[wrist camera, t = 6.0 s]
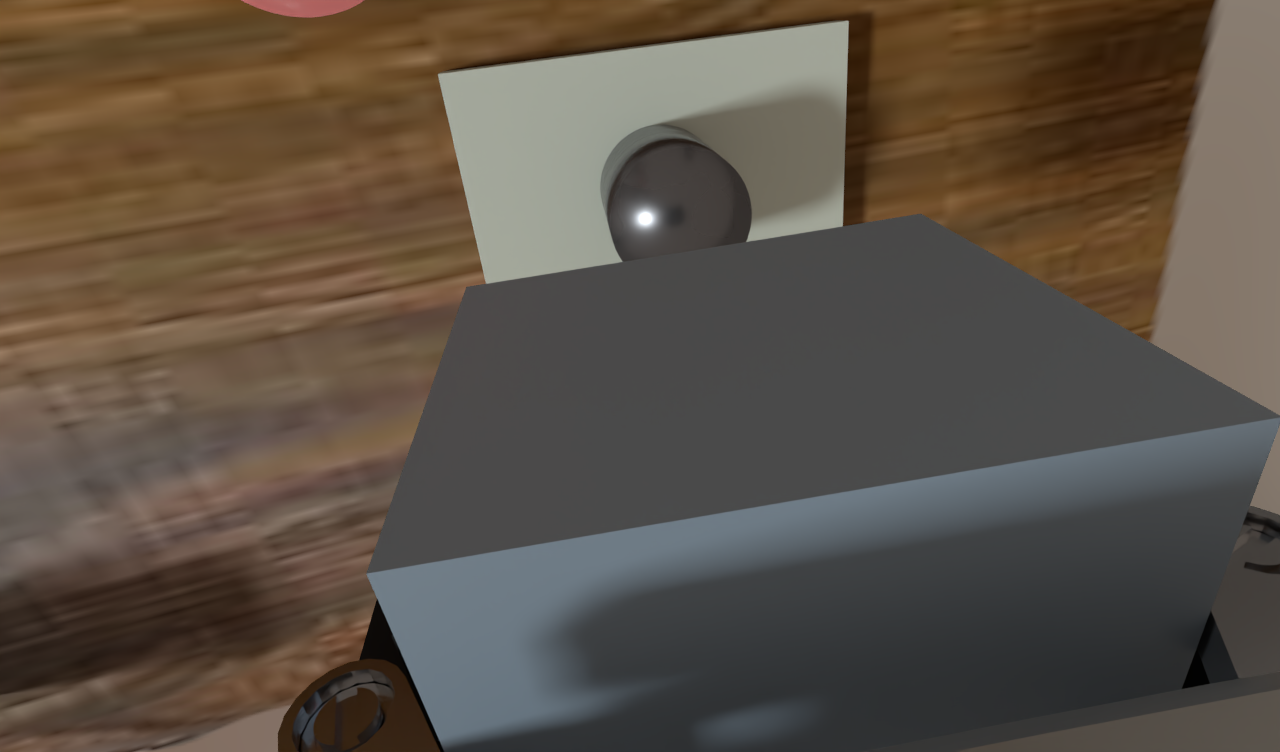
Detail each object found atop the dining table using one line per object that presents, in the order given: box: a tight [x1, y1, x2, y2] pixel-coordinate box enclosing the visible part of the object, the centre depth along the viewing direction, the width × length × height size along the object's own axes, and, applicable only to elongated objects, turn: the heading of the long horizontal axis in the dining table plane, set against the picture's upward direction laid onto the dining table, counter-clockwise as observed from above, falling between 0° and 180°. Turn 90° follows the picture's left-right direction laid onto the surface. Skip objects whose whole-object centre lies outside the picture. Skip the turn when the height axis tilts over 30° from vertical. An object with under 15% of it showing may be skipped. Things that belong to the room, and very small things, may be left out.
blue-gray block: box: [367, 214, 1280, 752], centre depth 9 cm, size 7×7×6 cm
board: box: [438, 21, 849, 284], centre depth 27 cm, size 19×14×4 cm
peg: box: [600, 124, 752, 262], centre depth 23 cm, size 4×4×5 cm
